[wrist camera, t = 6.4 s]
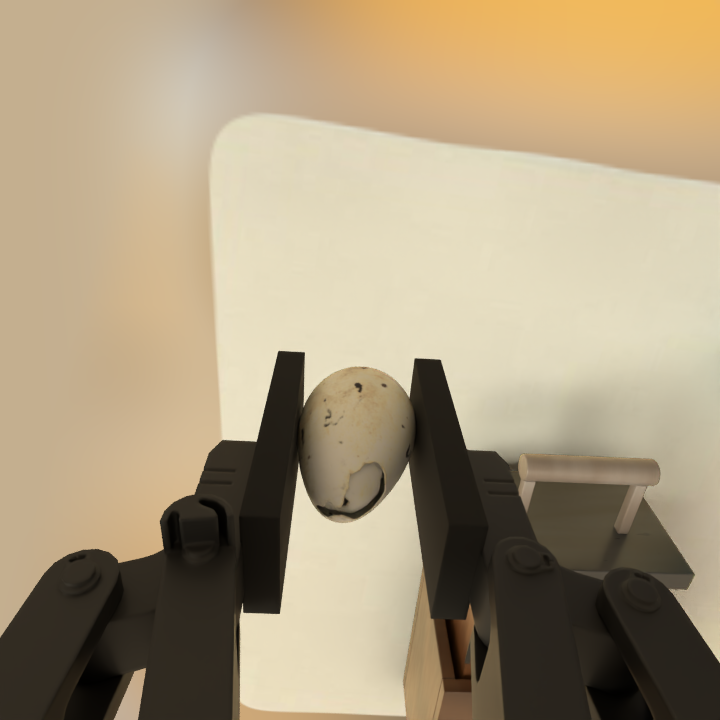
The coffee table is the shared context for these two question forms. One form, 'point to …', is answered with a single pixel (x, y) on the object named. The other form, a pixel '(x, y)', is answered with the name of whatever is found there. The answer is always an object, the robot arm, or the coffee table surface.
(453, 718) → the cabinet
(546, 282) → the coffee table surface
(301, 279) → the coffee table surface
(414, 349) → the coffee table surface
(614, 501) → the drawer
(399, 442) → the egg
